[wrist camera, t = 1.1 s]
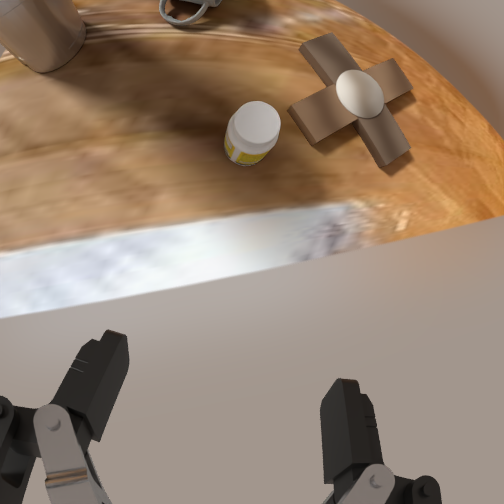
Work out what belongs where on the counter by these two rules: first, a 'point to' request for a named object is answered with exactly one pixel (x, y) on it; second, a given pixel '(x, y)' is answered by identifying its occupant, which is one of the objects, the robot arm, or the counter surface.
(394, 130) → the walnut cross joint
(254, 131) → the supplement bottle
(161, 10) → the ceramic mug
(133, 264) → the counter surface
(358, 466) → the robot arm
